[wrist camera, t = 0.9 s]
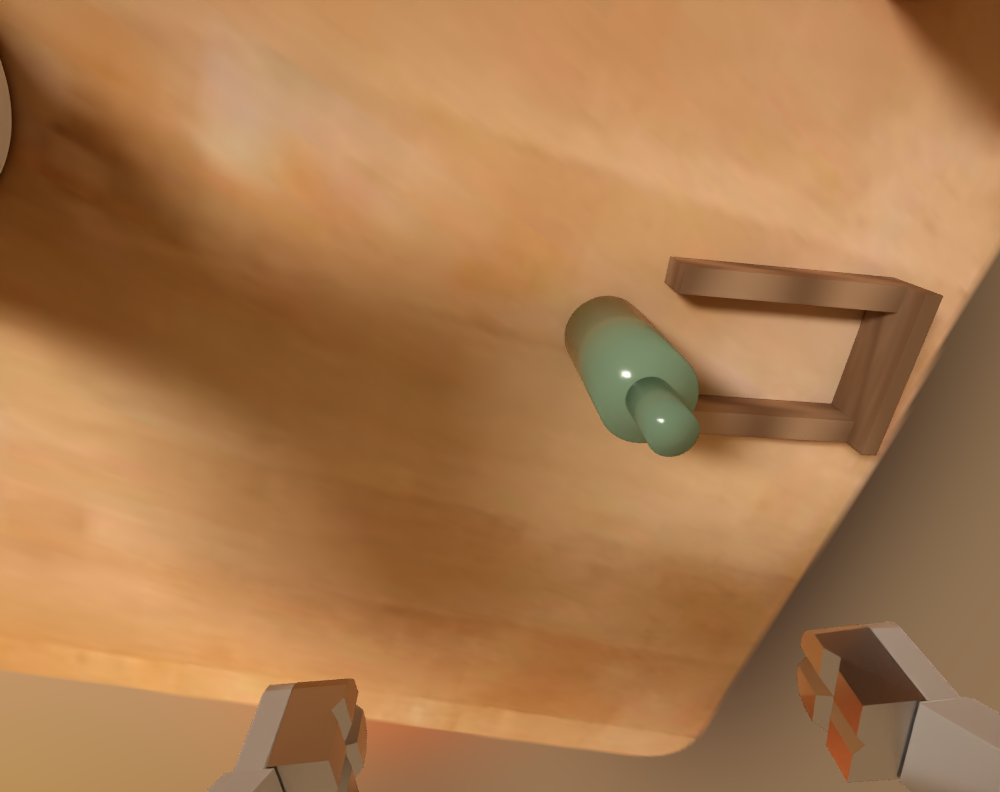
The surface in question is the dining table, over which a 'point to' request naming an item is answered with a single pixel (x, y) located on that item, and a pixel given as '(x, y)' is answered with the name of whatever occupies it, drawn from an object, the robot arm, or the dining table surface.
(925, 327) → the cradle
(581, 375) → the bottle
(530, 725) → the dining table surface
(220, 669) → the dining table surface
